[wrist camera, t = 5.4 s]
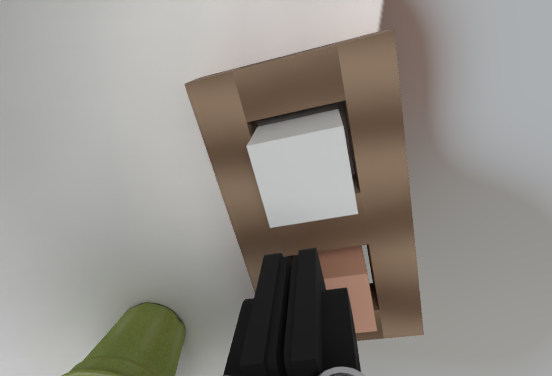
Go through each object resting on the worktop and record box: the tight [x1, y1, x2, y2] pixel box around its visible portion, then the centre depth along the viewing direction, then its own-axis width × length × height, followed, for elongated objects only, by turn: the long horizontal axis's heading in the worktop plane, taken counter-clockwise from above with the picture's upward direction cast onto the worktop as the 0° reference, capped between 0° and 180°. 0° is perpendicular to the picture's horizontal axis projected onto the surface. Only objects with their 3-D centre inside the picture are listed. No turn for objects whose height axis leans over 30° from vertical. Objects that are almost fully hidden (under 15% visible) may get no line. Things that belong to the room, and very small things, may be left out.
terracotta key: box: [293, 245, 377, 333], centre depth 25 cm, size 5×5×4 cm
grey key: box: [246, 109, 358, 228], centre depth 20 cm, size 5×5×4 cm
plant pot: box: [62, 303, 185, 376], centre depth 29 cm, size 9×9×9 cm
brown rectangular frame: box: [185, 30, 424, 341], centre depth 24 cm, size 22×12×3 cm, turn 14°
